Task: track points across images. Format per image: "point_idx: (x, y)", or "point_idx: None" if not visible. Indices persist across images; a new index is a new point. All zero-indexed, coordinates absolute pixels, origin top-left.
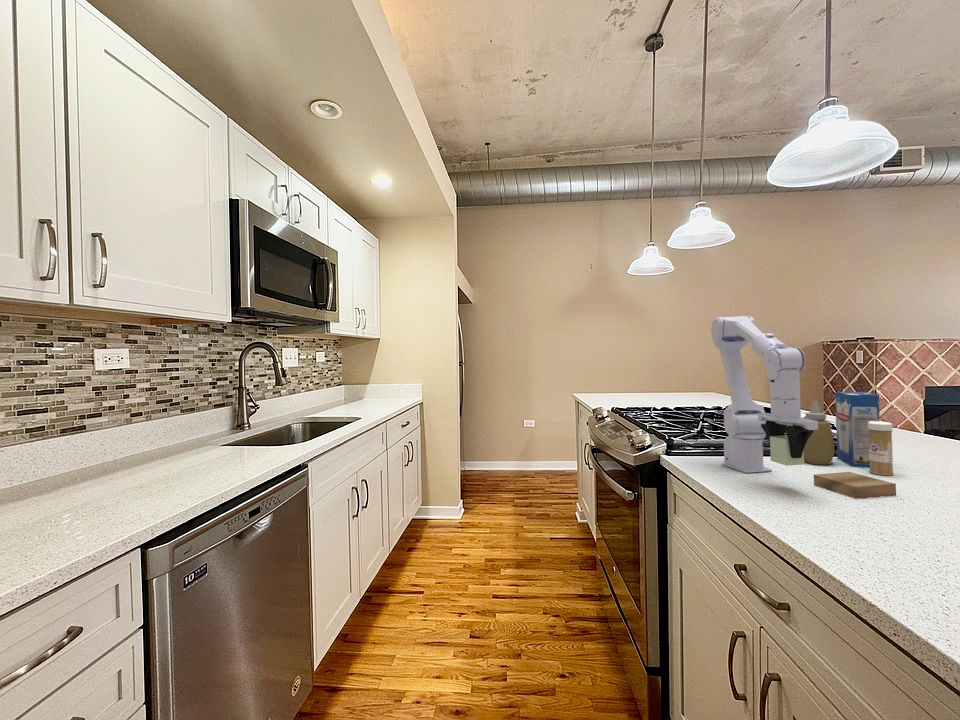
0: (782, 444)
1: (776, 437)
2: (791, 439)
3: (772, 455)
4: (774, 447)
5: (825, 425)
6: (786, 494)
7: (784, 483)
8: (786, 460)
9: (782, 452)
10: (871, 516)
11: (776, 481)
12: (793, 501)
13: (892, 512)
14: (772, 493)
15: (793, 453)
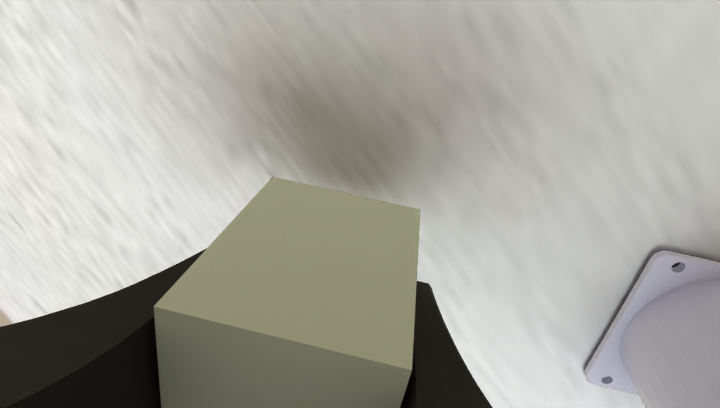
0: (239, 275)
1: (314, 356)
2: (85, 318)
3: (396, 228)
4: (362, 268)
5: None
6: (299, 85)
7: (427, 245)
8: (260, 193)
9: (276, 230)
10: (7, 121)
11: (468, 245)
12: (204, 5)
13: (44, 227)
14: (336, 30)
15: (200, 252)
